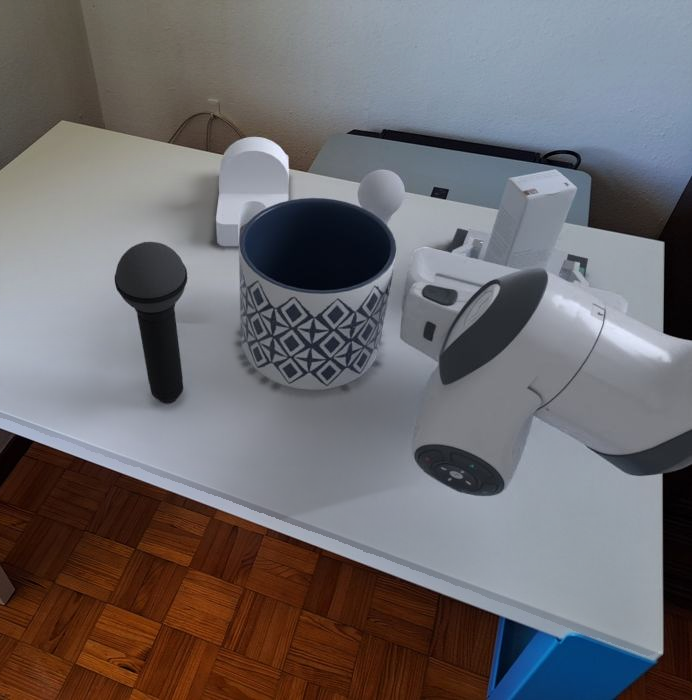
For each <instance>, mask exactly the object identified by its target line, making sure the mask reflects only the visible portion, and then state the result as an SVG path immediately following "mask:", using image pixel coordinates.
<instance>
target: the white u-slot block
mask: <svg viewBox="0 0 692 700" xmlns="http://www.w3.org/2000/svg"><path fill="white" fill-rule="evenodd" d="M289 162H290V161H289V155H288V154H286V152H285V151H284V150H283V149H282V147H281V146H280V145H279V144H278V143H276V142H275V141H272V140H271V139H268V138H266V137H259V136H249V137H244V138H241V139H238V140H236V141H234V142H233V143H232V144H230V145H229V146H228V147H227V149H225V151H224V153H223V155H222V156H221V160H220V165H219V174H218V200H217V208H216V214H215V215H216V216H215V225H216V226H215V227H216V243H217V244H218V245H219V246H222V247H239V241H240V236H241V234H240V233H241V228H242V227H244V226H246V224H247V223H248V222H249V221H250V220H251V219H252V218H253V217H254V216H255V215H256V214H258V213H259V212H261V211H262V210H264V209H266V208H268V207H270V206H273V205H275V204H278V203H281V202H285V201H289V200H290V197H289V194H290V193H289V190H290V165H289Z"/></svg>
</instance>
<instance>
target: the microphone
mask: <svg viewBox="0 0 692 700" xmlns="http://www.w3.org/2000/svg"><path fill="white" fill-rule="evenodd" d="M187 282H188V270H187V267H186V265H185V264H184V262H183V260H182V258H181V257H180V256H179V254H178V253H177V252H176V250H174V249H173V248H171V247H170V246H168V245H166V244H164V243H162V242H158V241H157V242H156V241H143V242H140V243H136V244H135V245H133V246H131V247H129V248H128V249H127V250H126V251H125V252H124V253H123V254H122V255H121V257H120V259H119V261H118V263H117V265H116V270H115V274H114V285H115V289H116V291H117V292H118V294H119V295H120V296H121V298H122V299H123V301H124V302H125V303H126V304H128V305H129V306H130V307H131V308H133V309H134V310H135V312H136V316H137V321H138V329H139V333H140V338H141V345H142V350H143V357H144V362H145V363H144V364H145V368H146V369H145V370H146V374H147V380H148V385H149V390H150V392H151V395H152V397H154V399H156V400H157V401H158V402H160V403H162V404H165V405H170V404H173V403H175V402H176V401H177V400H178V399H179V398H180V396H181V395H182V393H183V391H184V382H183V379H184V377H183V369H182V360H181V352H180V342H179V336H178V335H179V334H178V325H177V318H176V308H175V307H176V304H177V302H178V301H179V300H180V298H181V297H182V296H183V294H184V291H185V288H186V286H187Z"/></svg>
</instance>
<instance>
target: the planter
mask: <svg viewBox="0 0 692 700" xmlns="http://www.w3.org/2000/svg"><path fill="white" fill-rule="evenodd" d="M240 233H241V234H240V235H239V246H238V260H239V261H238V269H239V271H238V273H239V277H238V278H239V313H240V317H239V318H240V320H239V321H240V340H241V348H242V351H243V353H244V355H245V357H246V358H247V360H248V362H249V363H250V365H251V366H252V367H253V368H254V369H255V370H256V371H258V373H260V374H261V375H262V376H264V377H266V378H268V379H269V380H271V381H272V382H275V383H277V384H280V385H283V386H286V387H289V388H293V389H297V390H298V389H300V390H307V391H309V390H310V391H316V390H317V391H318V390H328V389H334V388H338V387H341V386H344V385H347V384H349V383H351V382H353V381H355V380H357V379H358V378H359V377H361V376H362V375H364V374H365V373H366V372H367V371H368V370H369V369H370V368H371V366H372V365H373V364H374V362H375V360H376V358H377V355H378V353H379V350H380V345H381V339H382V334H383V328H384V324H385V318H386V312H387V307H388V301H389V297H390V291H391V286H392V280H393V275H394V269H395V263H396V257H397V251H398V250H397V242H396V241H397V240H396V238H395V236H394V233H393V232H392V230H391V229H390V227H389V226H388V224H387V225H386V224H385V223H384V222H383V221H382V220H381V219H380V218H378V217H377V216H376V215H375V214H373V213H371V212H369V211H368V210H366V209H364V208H362V207H361V206H359V205H357V204H354V203H351V202H347V201H343V200H338V199H333V198H325V197H305V198H303V197H302V198H296V199H289V201H285V202H281V203H278V204H275V205H273V206H270V207H268V208H266V209H264V210H262V211H261V212H259V213H258V214H256V215H255V216H254V217H253V218H252V219H251V220H250V221H249V222H248V223H247V224H245V225H244V226H243V229H242V231H241V232H240Z"/></svg>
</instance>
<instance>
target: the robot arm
mask: <svg viewBox="0 0 692 700" xmlns="http://www.w3.org/2000/svg"><path fill="white" fill-rule="evenodd" d="M483 241H484V240H481V239H477V238H473V237H469V240H468V242H467V245H463V246H461V247H459V248H457V249H454V250H453V251H452V253H449V252H448V251H445V250H441V249H437V248H433V247H429V246H422V247H418V248H416V249H414V250H413V252H412V253H411V256H410V259H409V263H408V268H407V271H406V275H405V281H404V287H403V292H402V297H401V313H402V314H401V318H400V327H399V330H400V331H399V338H400V340H401V341H402V342H403V343H405V344H406V345H408V346H410V347H412V348H414V349H415V350H417V351H419V352H421V353H422V354H424V355H425V356H427V357H429V358H430V359H431V360H433V361H435V362H436V363H437V365H438V366H437V367H435V369H434V370H433V371H432V372H431V374H430V375H429V377H428V379H427V382H426V385H425V388H424V390H423V392H422V393H423V394H422V397H421V400H420V403H419V407H418V410H417V415H416V419H415V424H414V429H413V436H412V448H411V450H412V456H413V460H414V461H415V463H416V465H417V466H418V467H419V468H420V469H421V470H422V471H423V472H424V473H425V474H426V475H428V476H429V477H431V478H432V479H434V480H436V481H437V482H439V483H440V484H442V485H444V486H446V487H448V488H449V489H452V490H454V491H456V492H458V493H460V494H465V495H471V496H476V497H492V496H497V495H500V494H502V493H503V492H504V491H505V490H506V489H507V488H508V487H509V485H510V482H512V480H513V477H514V475H515V473H516V471H517V469H518V466H519V464H520V462H521V459H522V456H523V453H524V450H525V447H526V445H527V441H528V438H529V435H530V432H531V427H532V424H533V421H534V417H535V418H537V419H538V420H540V421H542V422H544V423H546V424H548V425H549V426H551V427H553V428H555V429H556V430H558V431H560V432H561V433H563V434H565V435H567V436H569V437H571V438H572V439H574V440H576V441H578V442H579V443H581V444H583V445H584V446H585V447H586V448H587V449H589V450H590V451H592V452H593V453H594V454H596V455H598V456H599V457H601V458H602V459H604V460H605V461H606V462H608V463H609V464H612V465H613V466H614V467H616V468H617V469H619V470H620V471H621V472H623V473H625V474H626V475H629V476H636V477H645V476H646V477H647V476H656V475H662V474H667V473H672V472H676V471H678V470H682V469H684V468H687V467H689V466H691V465H692V340H689V339H684V338H679V337H676V336H672V335H669V334H666V333H664V332H661V331H659V330H657V329H655V328H654V327H652V326H649V325H647V324H646V323H644V322H641V320H639V319H636V318H634V317H632V316H631V315H629V314H628V310H629V302H627V300H626V299H625V298H624V297H623V295H621V294H619V293H616V292H612V291H608V290H604V289H600V288H596V287H591V286H589V285H590V283H589V282H588V280H587V279H586V278H584V277H583V275H582V274H581V273H580V272H578V271H579V266H580V263H579V262H574V261H569V260H564V262H563V266H562V267H561V269H560V272H559V277H558V276H556V275H554V274H552V273H550V272H547V271H546V270H544V269H542V268H536V269H527V270H519V269H515V268H511V267H506V266H502V265H498V264H494V263H490V262H486V261H482V260H478V257H479V254H480V251H481V248H482V245H483Z"/></svg>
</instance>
